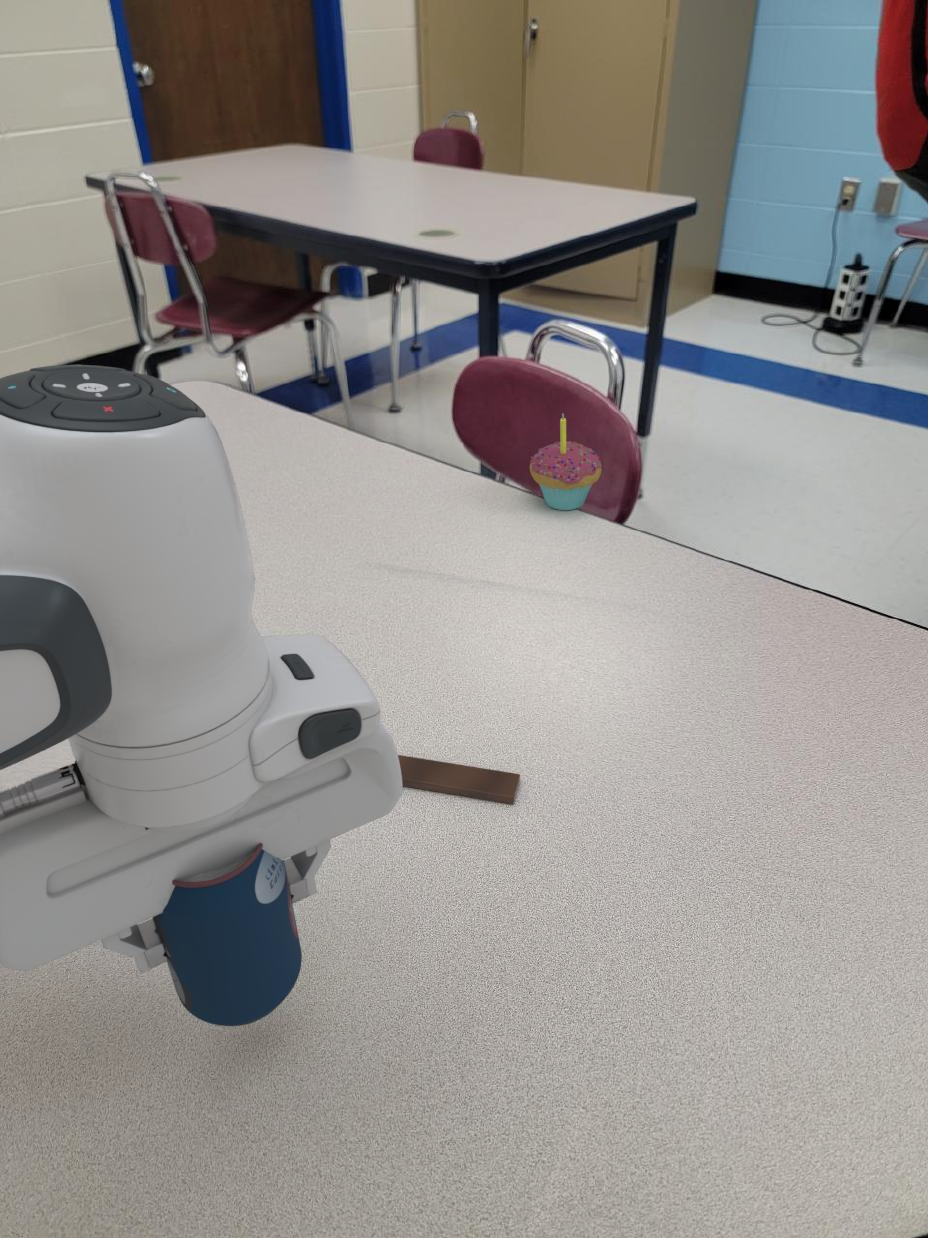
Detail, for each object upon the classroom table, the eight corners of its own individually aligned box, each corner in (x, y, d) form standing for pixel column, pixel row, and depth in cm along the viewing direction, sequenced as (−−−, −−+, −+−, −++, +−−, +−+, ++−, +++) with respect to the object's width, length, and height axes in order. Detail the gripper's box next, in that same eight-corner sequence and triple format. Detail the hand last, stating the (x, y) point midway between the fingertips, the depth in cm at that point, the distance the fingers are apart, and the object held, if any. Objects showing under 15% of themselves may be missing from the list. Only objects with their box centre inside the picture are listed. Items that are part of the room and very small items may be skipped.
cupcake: (590, 522, 105) (596, 425, 98) (520, 512, 107) (520, 417, 100) (605, 489, 111) (612, 395, 104) (538, 480, 113) (540, 388, 106)
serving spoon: (96, 785, 72) (94, 778, 72) (176, 683, 83) (174, 676, 82) (499, 857, 65) (499, 850, 65) (532, 736, 75) (532, 729, 75)
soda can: (328, 958, 52) (305, 814, 46) (251, 1061, 47) (213, 916, 41) (235, 911, 55) (200, 768, 48) (153, 1004, 50) (101, 859, 43)
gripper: (-71, 874, 34) (33, 1071, 42) (410, 691, 42) (421, 884, 50) (-85, 772, 38) (12, 968, 46) (353, 625, 47) (371, 812, 55)
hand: (228, 923), depth 48 cm, fingers closed on soda can, 7 cm apart
